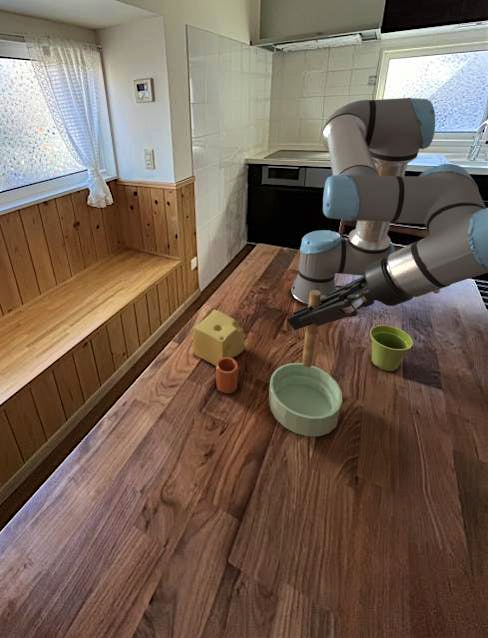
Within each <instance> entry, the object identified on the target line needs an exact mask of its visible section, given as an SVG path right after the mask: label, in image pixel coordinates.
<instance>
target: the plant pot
mask: <svg viewBox="0 0 488 638" xmlns="http://www.w3.org/2000/svg"><path fill="white" fill-rule="evenodd" d="M369 335H370V339H371V362H372V363H373V365H374V366H376V367H378V368H379V369H380V370H383V371H386V372H394V371H396V370H397V369H398V368H399V367H400V364H401V363H402V361H403V359H404V357H405V355H406V353H407V352H408V351H410V350H411V349H412V347H413V346H414V341H413V339H412V337H411V336H410V335H409V334H408V333H407V332H406V331H404V330H403V329H401V328H398V327H396V326H393V325H387V324H379V325H375V326H372V328H371V329H370V330H369Z"/></svg>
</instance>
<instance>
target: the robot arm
mask: <svg viewBox="0 0 488 638" xmlns="http://www.w3.org/2000/svg"><path fill="white" fill-rule="evenodd" d="M435 130H436V112H435V107H434V105H433V103H432V102H431V101H430V100H429V99H427V98H415V97H414V98H413V97H403V98H402V97H401V98H399V97H398V98H383V99H361V100H356V101H352V102H350V103H347V104H345V105H343V106H341V107H340V108H338V109H336V110H335V111H334V112H333V113H332V114H330V115H329V116H328V118H327V119H326V121H325V123H324V125H323V127H322V130H321V131H322V133H321V138H322V144H323V146H324V148H326V150H327V151H328V153H329V160H330V167H331V176H328V177H327V178H326V179H325V182H324V189H323V195H322V196H323V197H322V212H323V213H322V214H323V215H324V216H325V217H326V218H328V219H333V220H343V221H346V222H347V221H348V222H351V221H355V222H356V226H355V229H352V230H351V231H350V232H349V234H348V237H347V238H346V237H341V235H340V234H339V233H338V232H336V231H332V230H326V229H324V230H323V229H321V230H314V231H311V232H309V233H306V234H305V235H304V236H303V237H302V238H301V244H300V247H299V252H300V254H299V263H298V271H297V275H296V277H295V279H294V281H293V283H292V285H291V288H290V289H291V290H290V296H291V297H292V299H293V300H295V302H296V303H299V304H301V305H303V306H304V307H302V308H300V309H297V310H295V311H293V312H292V314H293V315H292V316H289V317H288V318H287V319H286V320H287V322H288V323H289V325H290V327H291V328H292V329H293V330H294V331H298V330H301V329H303V328H306V326H308V325H310V324H313V323H314V324H315V325H316V326H317V327H320V326H322V325H327V324H330V323H332V322H336V321H339V320H343V319H346V318H353V317H356V316H358V314H359V312H358V311H357V310H359V309H362V308H368V307H370V306H372V305H373V304H374V303H375V301H377V302H380V303H382V304H383V305H385V306H387V307H395V306H397V305H400V304H403V303H407V302H409V301H411V300H413V299H414V298H419V297H422V296H424V295H427V294H429V293H434V294H440V292H441V290H442V289H443V288H444V289H445V288H447V287H450V286H451V285H454V284H456V283H460V282H463V281H466V280H469V279H472V278H475V277H478V276H482V275H485V274H488V207H486V205H485V203H484V201H483V197H482V196H481V194H480V190H479V186H478V184H477V183H476V182H475V180H474V179H473V177H472V175H470V173H469V172H468V171H467V170H466V169H465V168H464V167H462V166H461V165H457V164H454V163H442V164H438V165H436V166H432V167H428V168H427V169H425V170H424V171H422V172H420V174H419V175H418V176H409V175H408V176H407V175H406V176H405V174H406V171H407V168H408V165H409V163H410V162H413V161H414V160H416V159H417V157H418V154H419V152H420V150H424V149H428V148H429V147H430V146H431V144H432V143H433V140H434V137H435ZM391 223H398V224H399V223H401V224H419V225H421V224H422V225H425V227H426V230H427V233H428V235H427V236H426V237H424V238H422V239H420V240H417V241H415V242H412V243H410V244H408V245H406V246H404V247H401V248H400V249H398V250H395V246H394V243H393V242H392V240H391V238H390V236H389V235H388V233H389V229H390V226H391ZM336 274H340V275H341V274H342V275H352V276H360V277H358V278H356V279H355V280H352V281H350V282H349V283H346V284H345V285H336V281H335V278H336V277H335V276H336ZM311 290H317V291H319V292H320V293H321V296H320V304H319V306H318V307H316V308H314V309H313V307H312V306H309V307H308V304H309V295H310V291H311Z"/></svg>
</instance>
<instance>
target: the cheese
mask: <svg viewBox="0 0 488 638" xmlns="http://www.w3.org/2000/svg"><path fill="white" fill-rule="evenodd" d="M244 334H245V333H244V329H243V328H242V327H241V326H240V325H239V324H238V322H237V320H236V319H234V318H233V317H231V316H229V315H227V314H225V313H224V312H222V311H221V310H217V309H213V310H212V311H211V312H210V313H209V314H208V315H207V316H206V317H205V318H204V319H202V320H201V321H200V322H199V323H198V324H196V325H195V326H193V331H192V347H193V353H194V355H195V356H197V357H198V358H200V359H201V360H204V361H206V362H208V363H210V364H212V365H213V366H215V367H216V363H217V361H218V360H219V359H220V358H223V357H230V358H233V359H234V357H237V356H239V354H241V353H242V352H244V350H245V345H246V344H245V341H244V340H243V338H244V336H245V335H244Z"/></svg>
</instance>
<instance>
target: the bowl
mask: <svg viewBox="0 0 488 638" xmlns="http://www.w3.org/2000/svg"><path fill="white" fill-rule="evenodd" d="M269 380H270V381H269V388H268V404H269V410H270V412H271V413H272V415H273V417H274V418H275V420H276V421H277V422H278V423H279V424H281V425H282V427H284V428H285V429H287V430H288V431H291V432H293V433H294V434H297V435H301V436H304V437H321V436H324V435H327V434H329V433H331V432H332V431H333V430H334V429H335V428H336V427H337V425H338V423H339V420H340V415H341V410H342V406H343V392H342V389H341V388H340V385H339V383H338V382H337V381H336V380H335V379H334V378H333V377H332V376H331V375H330V374H329V373H328V372H326V371H325V370H323V369H321V368H319V367H317V366H315V365H312V366H311V367H305V366H303V364H302V362H290V363H287V364H283V365H281V366H279V367H278V368H276V369H275V370H274V372H273V373H272V375H270V379H269Z"/></svg>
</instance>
